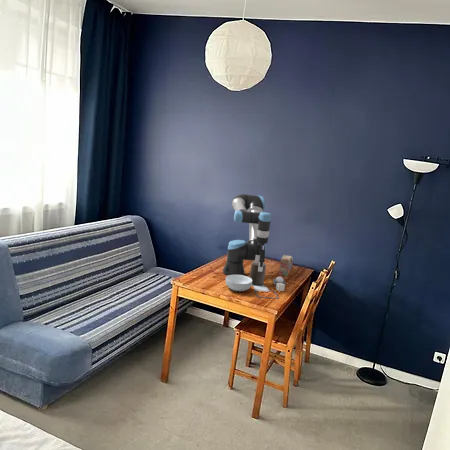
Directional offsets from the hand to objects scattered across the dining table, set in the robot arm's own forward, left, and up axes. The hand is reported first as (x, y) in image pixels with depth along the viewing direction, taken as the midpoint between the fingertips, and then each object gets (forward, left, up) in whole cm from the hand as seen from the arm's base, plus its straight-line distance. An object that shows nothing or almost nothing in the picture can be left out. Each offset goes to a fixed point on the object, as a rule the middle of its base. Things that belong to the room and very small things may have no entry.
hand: (258, 267), depth 271 cm
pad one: (+1, -9, -11) cm, 14 cm away
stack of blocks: (+28, +32, -11) cm, 44 cm away
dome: (+16, +3, -10) cm, 19 cm away
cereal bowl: (-14, -13, -11) cm, 22 cm away
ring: (+3, -18, -11) cm, 22 cm away
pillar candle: (0, 0, -11) cm, 11 cm away
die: (+14, -8, -11) cm, 20 cm away
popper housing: (+16, +3, -11) cm, 19 cm away
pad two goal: (0, 0, -11) cm, 11 cm away
